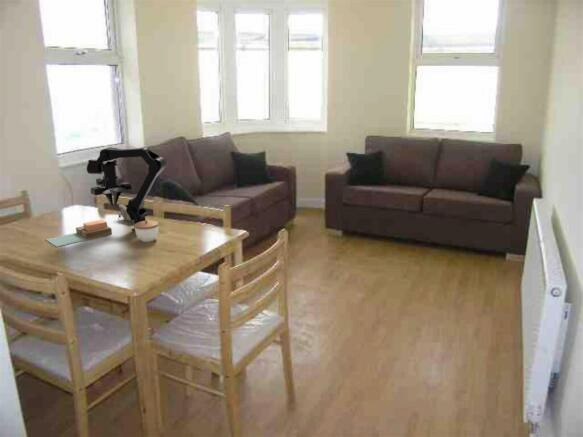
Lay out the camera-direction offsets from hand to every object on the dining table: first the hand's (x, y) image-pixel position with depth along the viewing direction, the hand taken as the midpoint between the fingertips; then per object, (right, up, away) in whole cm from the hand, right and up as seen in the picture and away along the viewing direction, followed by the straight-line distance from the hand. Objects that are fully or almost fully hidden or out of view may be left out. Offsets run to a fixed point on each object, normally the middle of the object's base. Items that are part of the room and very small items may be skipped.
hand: (113, 205), depth 265 cm
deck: (-8, -14, -4) cm, 16 cm away
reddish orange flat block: (-7, -11, -4) cm, 13 cm away
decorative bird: (+2, -8, +18) cm, 20 cm away
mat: (-18, -16, -12) cm, 27 cm away
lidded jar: (+20, -16, -13) cm, 29 cm away
